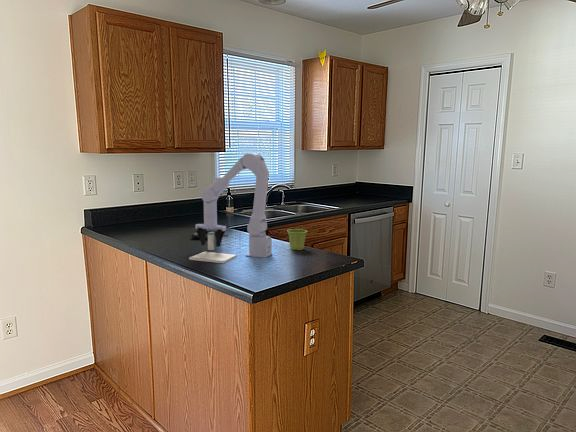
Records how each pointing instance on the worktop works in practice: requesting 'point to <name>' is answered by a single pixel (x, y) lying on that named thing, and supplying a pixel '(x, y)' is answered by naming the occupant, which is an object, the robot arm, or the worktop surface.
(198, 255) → the notepad
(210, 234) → the marker
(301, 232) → the plant pot
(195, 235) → the door handle
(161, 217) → the worktop surface
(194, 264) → the worktop surface
